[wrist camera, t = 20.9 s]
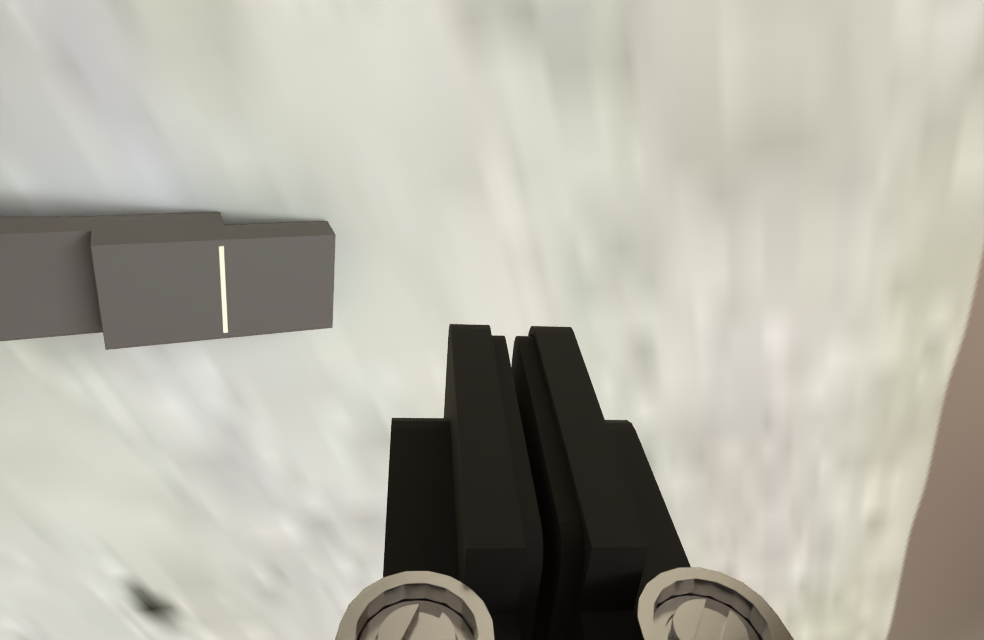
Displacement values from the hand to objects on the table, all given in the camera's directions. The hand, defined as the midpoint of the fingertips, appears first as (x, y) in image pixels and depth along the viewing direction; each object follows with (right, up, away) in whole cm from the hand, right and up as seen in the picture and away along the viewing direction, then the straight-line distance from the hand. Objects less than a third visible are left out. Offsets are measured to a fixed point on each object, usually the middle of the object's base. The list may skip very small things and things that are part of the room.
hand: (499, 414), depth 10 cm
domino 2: (-8, +4, +25) cm, 27 cm away
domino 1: (-13, +4, +25) cm, 28 cm away
